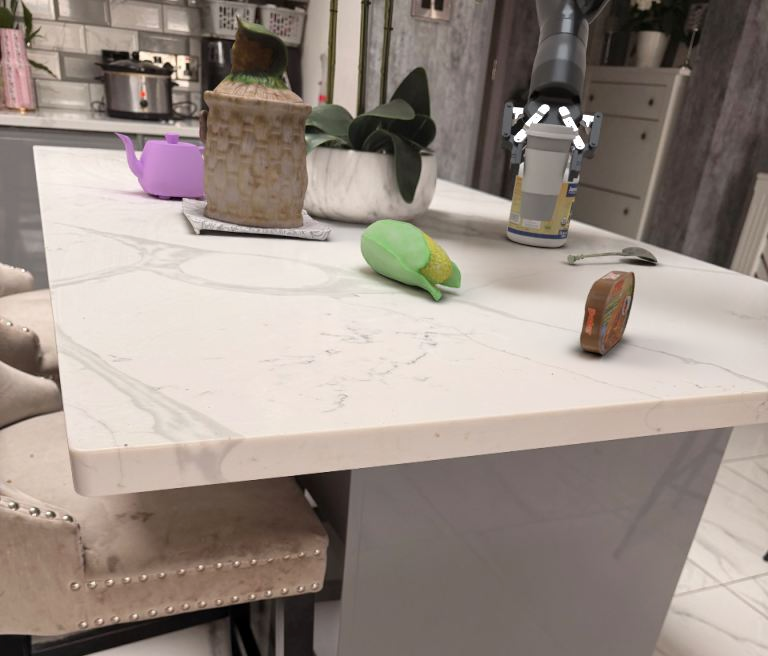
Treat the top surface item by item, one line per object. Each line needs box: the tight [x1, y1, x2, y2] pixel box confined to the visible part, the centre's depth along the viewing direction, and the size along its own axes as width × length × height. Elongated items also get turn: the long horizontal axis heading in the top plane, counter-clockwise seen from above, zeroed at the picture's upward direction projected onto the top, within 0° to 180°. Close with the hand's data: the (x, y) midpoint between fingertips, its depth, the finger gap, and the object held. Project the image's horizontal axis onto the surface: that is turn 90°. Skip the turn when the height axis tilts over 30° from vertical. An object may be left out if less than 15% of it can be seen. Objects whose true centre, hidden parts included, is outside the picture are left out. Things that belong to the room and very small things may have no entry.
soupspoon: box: [566, 246, 659, 265], centre depth 142 cm, size 22×3×7 cm
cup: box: [520, 123, 576, 221], centre depth 106 cm, size 7×7×12 cm
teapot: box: [114, 132, 206, 200], centre depth 155 cm, size 20×13×12 cm, turn 120°
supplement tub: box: [506, 153, 580, 248], centre depth 150 cm, size 12×12×17 cm
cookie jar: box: [181, 13, 331, 241], centre depth 131 cm, size 25×25×32 cm
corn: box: [360, 218, 462, 302], centre depth 110 cm, size 8×8×20 cm
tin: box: [579, 270, 636, 356], centre depth 91 cm, size 15×3×8 cm, turn 151°
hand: (544, 174), depth 105 cm, fingers closed on cup, 7 cm apart
